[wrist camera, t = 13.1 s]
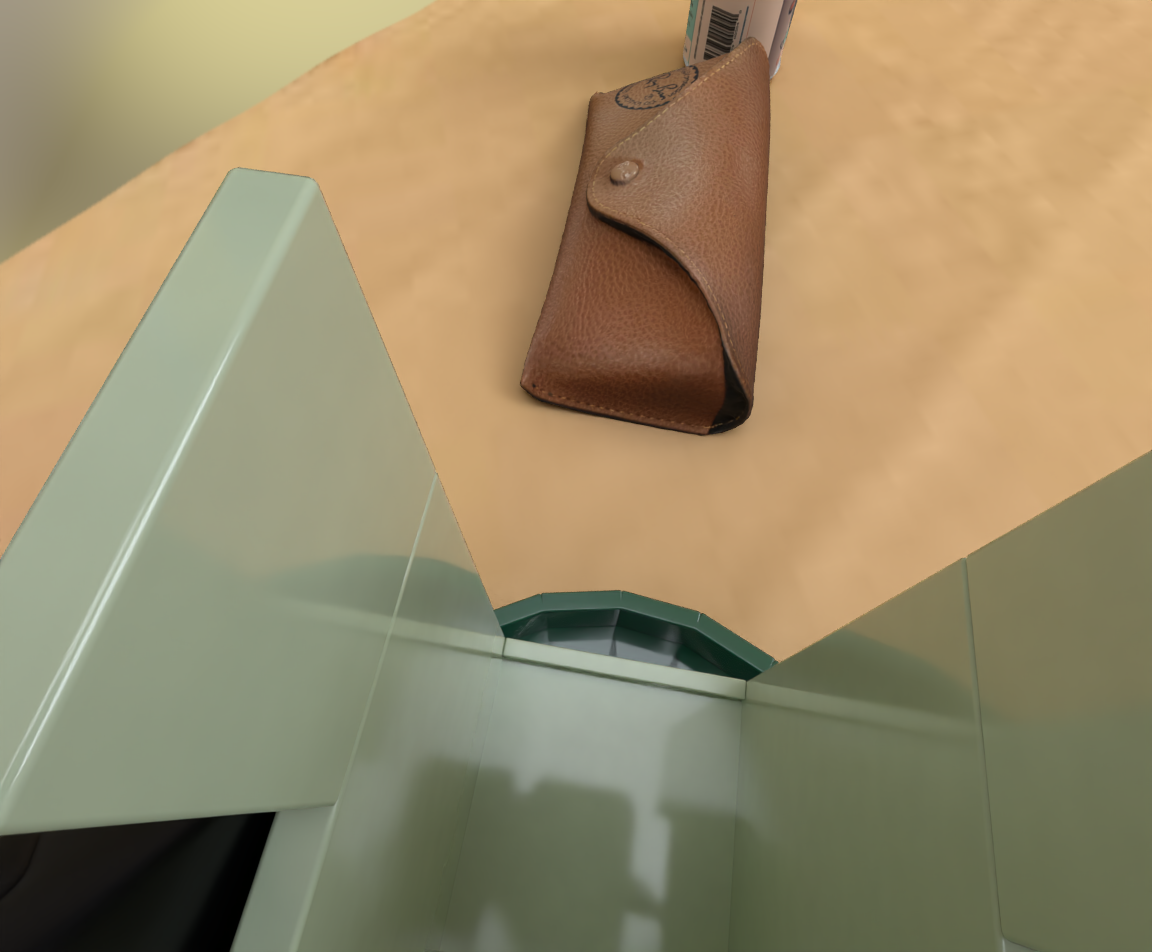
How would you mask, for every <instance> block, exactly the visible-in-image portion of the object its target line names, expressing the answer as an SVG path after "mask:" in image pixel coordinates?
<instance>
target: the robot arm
mask: <svg viewBox="0 0 1152 952" xmlns="http://www.w3.org/2000/svg"><path fill="white" fill-rule="evenodd" d="M275 814H276V812H267V813H256V814H245V815H234V816H223V817H212V818H201V819H190V820H179V821H168V822H157V823H146V824H135V825H124V826H113V827H102V828H91V829H81V830H70V831H59V832H48V833H37V834H26V835H15V836H4V837H0V952H230V949H231V946H232V943H233V940H234V937H235V934H236V931H237V928H238V925H239V922H240V919H241V916H242V913H243V910H244V907H245V904H246V901H247V898H248V895H249V892H250V889H251V886H252V883H253V880H254V877H255V874H256V871H257V868H258V865H259V862H260V859H261V856H262V853H263V850H264V847H265V844H266V841H267V838H268V835H269V832H270V829H271V826H272V823H273V820H274V817H275Z"/></svg>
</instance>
